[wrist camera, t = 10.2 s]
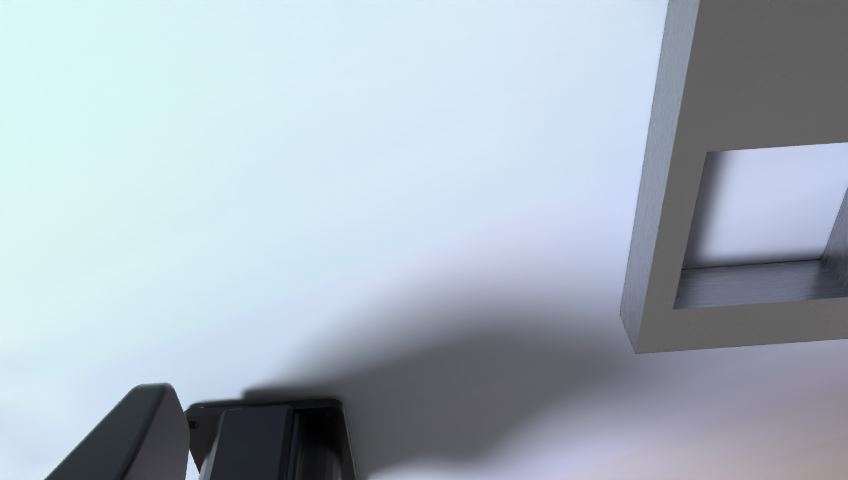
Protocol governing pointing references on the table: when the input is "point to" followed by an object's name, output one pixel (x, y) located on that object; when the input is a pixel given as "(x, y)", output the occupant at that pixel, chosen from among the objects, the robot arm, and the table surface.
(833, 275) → the rail
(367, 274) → the table surface
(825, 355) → the table surface
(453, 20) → the table surface
